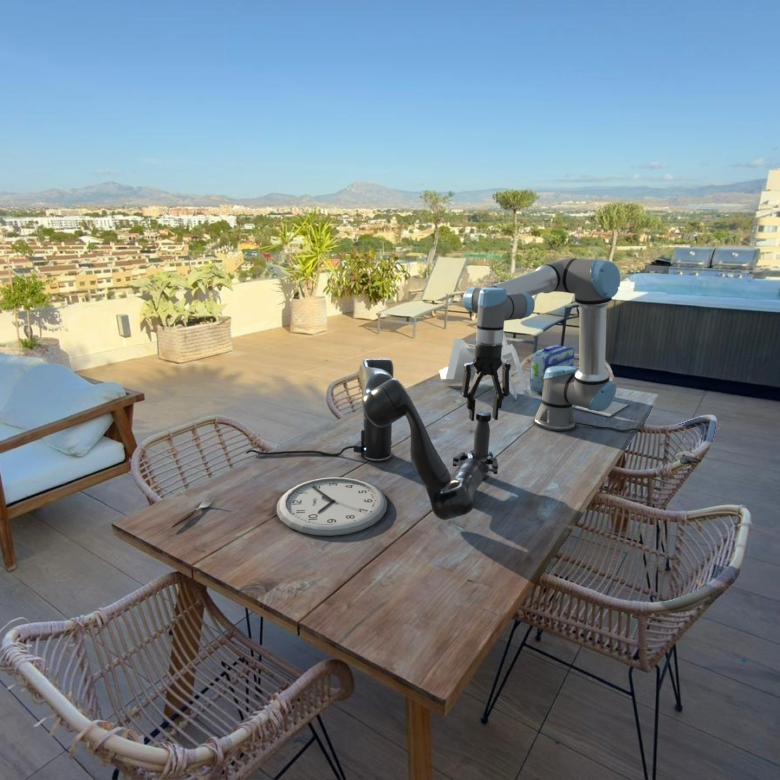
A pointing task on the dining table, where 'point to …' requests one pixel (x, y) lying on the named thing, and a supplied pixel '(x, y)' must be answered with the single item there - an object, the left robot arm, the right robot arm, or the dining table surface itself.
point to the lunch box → (548, 363)
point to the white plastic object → (466, 355)
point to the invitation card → (609, 411)
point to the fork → (203, 505)
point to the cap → (483, 416)
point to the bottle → (481, 440)
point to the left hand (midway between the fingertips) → (482, 453)
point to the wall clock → (331, 506)
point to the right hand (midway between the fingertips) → (483, 418)
